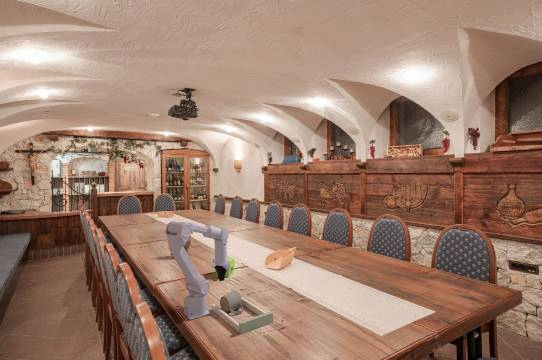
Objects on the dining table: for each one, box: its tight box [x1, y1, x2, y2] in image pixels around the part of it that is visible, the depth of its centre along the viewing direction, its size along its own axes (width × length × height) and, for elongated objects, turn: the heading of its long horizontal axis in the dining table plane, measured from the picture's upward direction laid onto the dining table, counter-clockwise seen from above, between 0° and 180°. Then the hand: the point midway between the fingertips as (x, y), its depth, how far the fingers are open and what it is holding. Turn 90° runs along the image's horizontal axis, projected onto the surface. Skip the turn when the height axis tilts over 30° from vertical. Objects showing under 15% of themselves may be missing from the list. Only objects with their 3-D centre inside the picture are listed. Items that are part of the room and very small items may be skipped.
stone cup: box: [170, 237, 192, 257], centre depth 234 cm, size 15×12×15 cm
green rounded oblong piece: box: [215, 256, 236, 279], centre depth 191 cm, size 18×10×10 cm, turn 168°
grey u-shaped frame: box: [211, 296, 274, 335], centre depth 136 cm, size 15×27×4 cm, turn 36°
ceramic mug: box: [219, 290, 244, 315], centre depth 142 cm, size 11×8×8 cm
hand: (221, 280), depth 151 cm, fingers closed
